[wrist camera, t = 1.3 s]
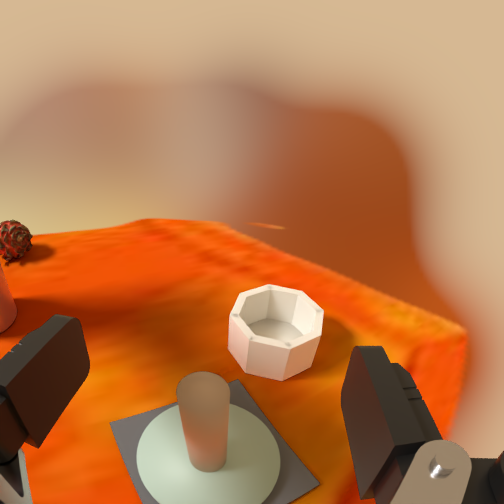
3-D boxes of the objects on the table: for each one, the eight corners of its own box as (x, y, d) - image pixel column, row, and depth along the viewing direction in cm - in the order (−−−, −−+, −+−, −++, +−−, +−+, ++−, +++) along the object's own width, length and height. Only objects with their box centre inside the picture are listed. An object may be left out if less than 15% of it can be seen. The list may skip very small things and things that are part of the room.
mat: (110, 424, 28) (109, 422, 28) (237, 381, 36) (238, 379, 36) (171, 554, 17) (170, 554, 17) (318, 484, 25) (320, 483, 24)
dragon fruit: (38, 264, 54) (0, 270, 53) (43, 227, 57) (5, 235, 57) (15, 248, 46) (-23, 255, 46) (23, 208, 50) (-16, 218, 49)
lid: (120, 427, 28) (84, 348, 21) (234, 388, 35) (241, 303, 28) (175, 542, 18) (145, 520, 11) (306, 481, 25) (348, 422, 18)
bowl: (216, 333, 43) (217, 299, 40) (282, 310, 48) (287, 278, 45) (259, 391, 35) (265, 359, 32) (329, 357, 40) (340, 325, 37)
